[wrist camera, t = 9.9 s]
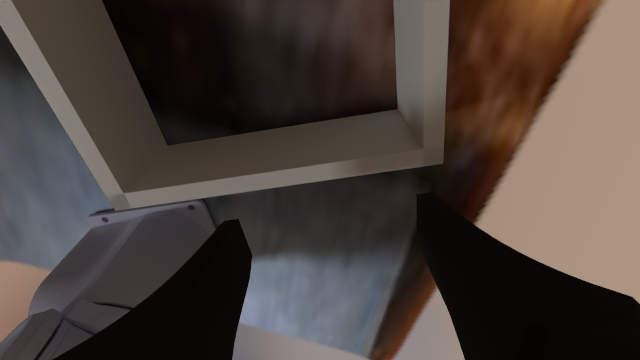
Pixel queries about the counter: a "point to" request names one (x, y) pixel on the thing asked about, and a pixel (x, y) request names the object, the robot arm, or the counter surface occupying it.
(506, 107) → the counter surface
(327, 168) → the open box
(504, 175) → the counter surface
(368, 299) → the counter surface
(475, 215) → the counter surface
